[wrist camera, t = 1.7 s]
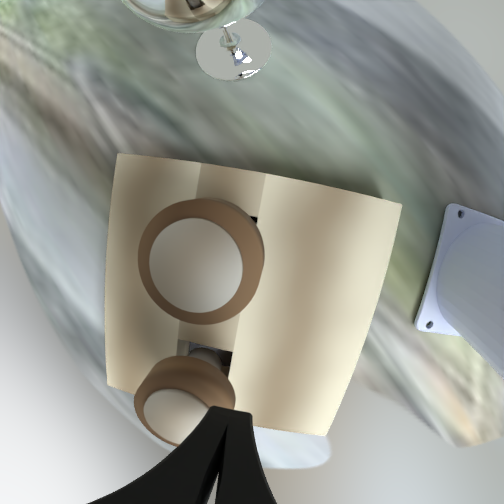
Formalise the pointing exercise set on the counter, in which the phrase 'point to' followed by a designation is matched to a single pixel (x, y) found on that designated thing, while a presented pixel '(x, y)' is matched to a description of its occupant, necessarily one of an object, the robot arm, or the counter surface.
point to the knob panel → (268, 292)
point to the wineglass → (214, 32)
